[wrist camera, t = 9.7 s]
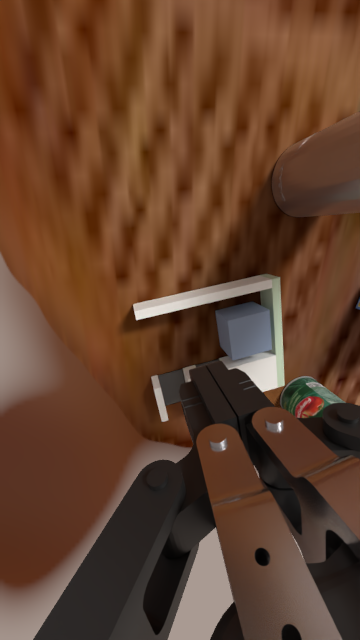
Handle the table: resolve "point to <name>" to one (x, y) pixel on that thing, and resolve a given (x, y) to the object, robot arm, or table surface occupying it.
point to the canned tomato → (306, 398)
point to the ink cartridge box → (358, 304)
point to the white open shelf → (259, 367)
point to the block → (244, 330)
